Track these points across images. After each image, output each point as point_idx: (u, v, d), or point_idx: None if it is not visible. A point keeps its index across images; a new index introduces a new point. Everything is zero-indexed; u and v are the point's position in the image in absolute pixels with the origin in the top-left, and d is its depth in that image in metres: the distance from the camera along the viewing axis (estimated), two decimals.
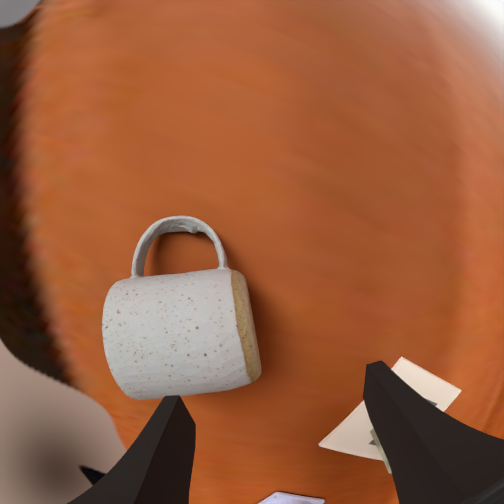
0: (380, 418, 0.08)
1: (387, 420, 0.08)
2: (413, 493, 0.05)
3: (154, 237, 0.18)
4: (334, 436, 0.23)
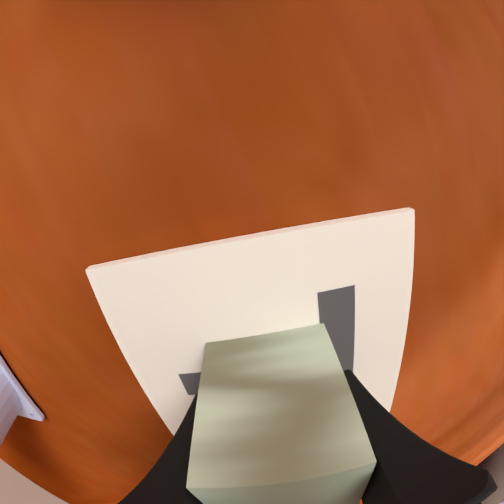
0: None
1: None
2: None
3: None
4: (129, 272, 0.09)
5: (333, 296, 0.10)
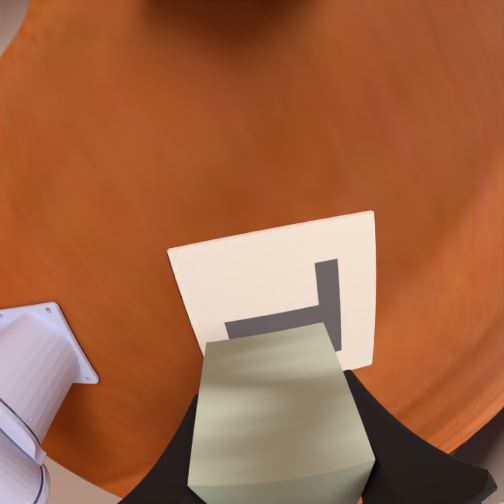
0: None
1: None
2: None
3: None
4: (199, 251, 0.16)
5: (324, 265, 0.17)
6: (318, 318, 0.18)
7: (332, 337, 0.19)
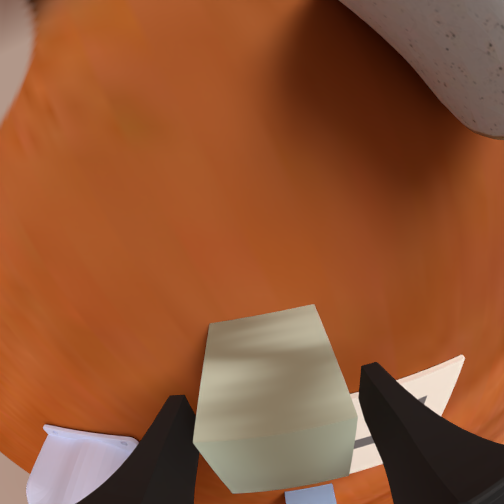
0: (375, 420, 0.08)
1: (381, 422, 0.08)
2: (407, 495, 0.05)
3: None
4: None
5: None
6: None
7: None
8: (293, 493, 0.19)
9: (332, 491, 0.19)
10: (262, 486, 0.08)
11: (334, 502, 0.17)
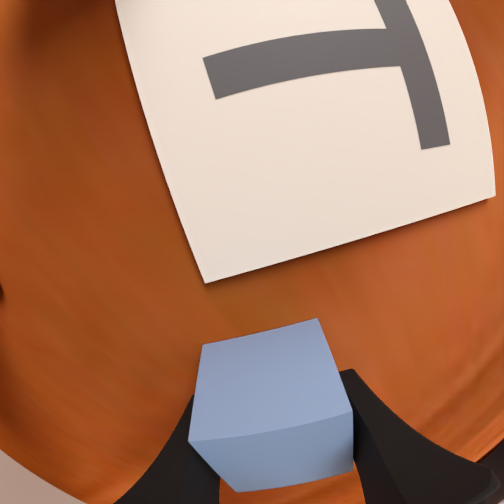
0: None
1: (354, 430, 0.08)
2: None
3: None
4: None
5: None
6: (394, 55, 0.07)
7: (429, 106, 0.07)
8: (221, 347, 0.10)
9: (319, 334, 0.10)
10: None
11: (328, 359, 0.08)
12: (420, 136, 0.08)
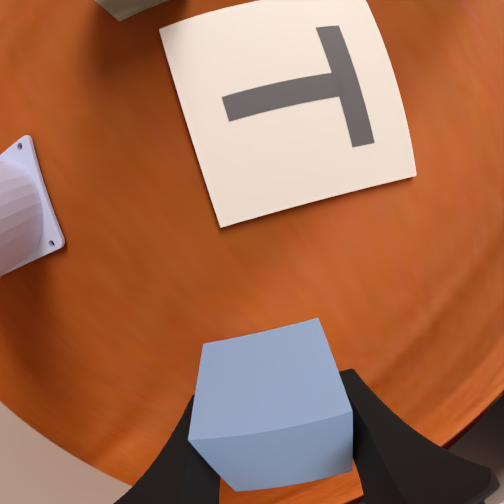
0: None
1: (354, 430, 0.08)
2: None
3: None
4: (192, 23, 0.11)
5: (326, 30, 0.12)
6: (335, 90, 0.13)
7: (358, 119, 0.14)
8: (222, 346, 0.10)
9: (319, 334, 0.10)
10: None
11: (328, 359, 0.08)
12: (351, 139, 0.14)
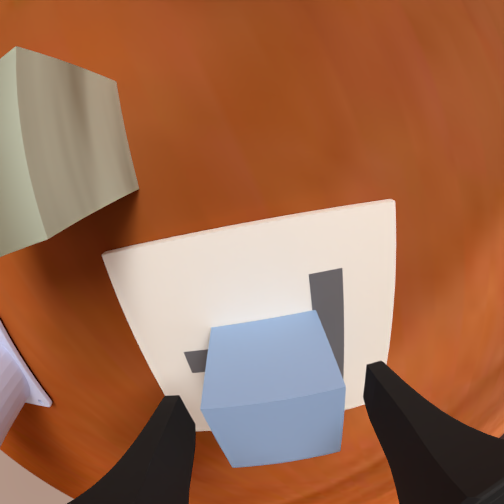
0: (380, 418, 0.08)
1: (387, 420, 0.08)
2: (413, 493, 0.05)
3: None
4: (142, 256, 0.11)
5: (323, 278, 0.11)
6: None
7: None
8: (228, 330, 0.12)
9: (317, 323, 0.11)
10: None
11: (325, 344, 0.10)
12: None
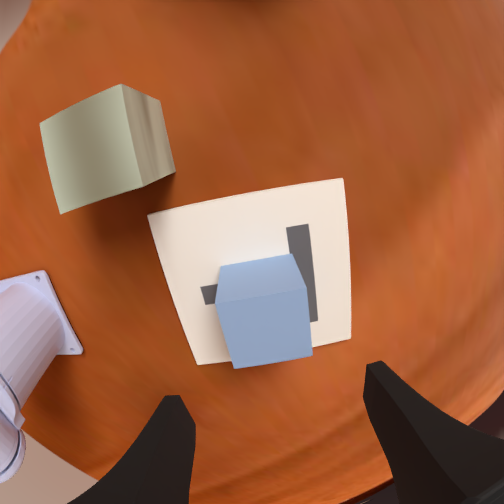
0: (380, 418, 0.08)
1: (387, 420, 0.08)
2: (413, 493, 0.05)
3: None
4: (176, 215, 0.17)
5: (295, 230, 0.17)
6: None
7: None
8: (232, 266, 0.18)
9: (292, 259, 0.17)
10: (76, 193, 0.11)
11: (295, 269, 0.16)
12: None
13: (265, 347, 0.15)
